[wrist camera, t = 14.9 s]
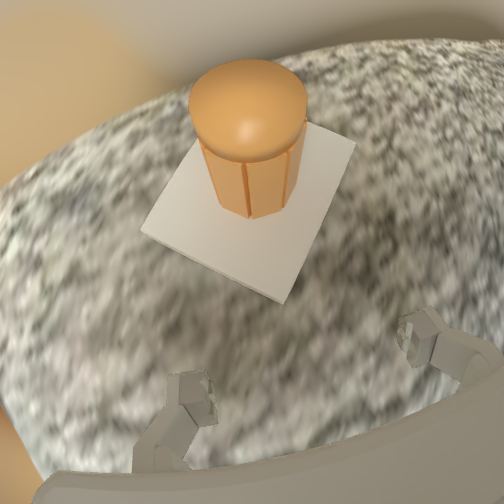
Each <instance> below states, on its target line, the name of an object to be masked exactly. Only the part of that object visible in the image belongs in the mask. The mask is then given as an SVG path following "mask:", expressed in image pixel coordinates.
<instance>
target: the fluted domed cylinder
mask: <svg viewBox="0 0 504 504" xmlns="http://www.w3.org/2000/svg"><path fill="white" fill-rule="evenodd" d="M306 108H307V93H306V90H305V87H304V85H303V83H302V82H301V81H300V79H299V78H298V77H297V76H296V75H295V74H294V73H293V72H291V71H290V70H288V69H287V68H285V67H283V66H281V65H279V64H276V63H273V62H270V61H266V60H259V59H242V60H235V61H231V62H227V63H224V64H222V65H219V66H217V67H215V68H213V69H211V70H210V71H208V72H207V73H206V74H204V75H203V76H202V77H201V78H200V79H199V80H198V81H197V82H196V84H195V85H194V87H193V89H192V91H191V93H190V96H189V112H190V115H191V118H192V121H193V124H194V127H195V131H196V134H197V137H198V140H199V143H200V147H201V150H202V153H203V156H204V159H205V162H206V165H207V168H208V171H209V174H210V177H211V180H212V183H213V186H214V189H215V192H216V195H217V198H218V201H219V204H221V205H222V208H225V209H227V210H229V211H231V212H233V213H236V214H238V215H240V216H242V217H244V218H246V219H249V218H250V216H252V219H256V218H260V217H263V216H266V215H269V214H272V213H275V212H279V211H281V207H282V208H284V207H285V205H286V203H287V201H288V199H289V197H290V196H291V194H292V192H293V190H294V188H295V186H296V182H297V177H298V172H299V166H300V161H301V156H302V150H303V145H304V139H305V134H306V128H307V117H306Z"/></svg>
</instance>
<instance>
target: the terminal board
mask: <svg viewBox="0 0 504 504" xmlns="http://www.w3.org/2000/svg"><path fill="white" fill-rule="evenodd" d="M356 143H357V142H355V141H353V140H350V139H348V138H346V137H344V136H341V135H339V134H337V133H335V132H332V131H330V130H327V129H325V128H323V127H320V126H318V125H315V124H313V123H311V122H308V121H307V128H306V134H305V139H304V145H303V150H302V156H301V161H300V166H299V172H298V177H297V182H296V186H295V188H294V190H293V192H292V194H291V196H290V197H289V199H288V201H287V203H286V205H285V207H284V208H282V207H281V211H279V212H275V213H272V214H269V215H266V216H263V217H260V218H256V219H252V216H250V218H249V219H246V218H244V217H242V216H240V215H238V214H236V213H233V212H231V211H229V210H227V209H225V208H222V205H221V204H219V201H218V198H217V195H216V192H215V189H214V186H213V183H212V180H211V177H210V174H209V171H208V168H207V165H206V162H205V159H204V156H203V153H202V150H201V147H200V143H199V140H198V138H197V139H196V141H195V142H194V144H193V145H192V147H191V148H190V150H189V151H188V153H187V154H186V156H185V157H184V159H183V160H182V162H181V163H180V165H179V166H178V168H177V170H176V171H175V173H174V174H173V176H172V177H171V179H170V181H169V182H168V184H167V185H166V187H165V189H164V190H163V192H162V193H161V195H160V197H159V198H158V200H157V202H156V203H155V205H154V207H153V208H152V210H151V212H150V213H149V215H148V217H147V218H146V220H145V222H144V224H143V225H142V227H141V229H140V230H141V231H142V232H143V233H144V234H145V235H146V236H147V237H149V238H151V239H153V240H155V241H157V242H159V243H160V244H162V245H164V246H166V247H168V248H170V249H172V250H174V251H176V252H178V253H180V254H182V255H184V256H186V257H187V258H189V259H191V260H193V261H195V262H197V263H199V264H201V265H203V266H205V267H207V268H209V269H211V270H213V271H215V272H217V273H219V274H221V275H223V276H225V277H227V278H229V279H231V280H233V281H235V282H237V283H239V284H241V285H243V286H245V287H247V288H249V289H251V290H253V291H255V292H257V293H259V294H261V295H263V296H265V297H267V298H270V299H272V300H274V301H276V302H278V303H280V304H282V305H284V303H285V301H286V299H287V297H288V295H289V293H290V291H291V289H292V287H293V284H294V282H295V280H296V278H297V276H298V274H299V272H300V270H301V268H302V266H303V263H304V261H305V259H306V257H307V255H308V253H309V251H310V248H311V246H312V244H313V242H314V240H315V237H316V235H317V233H318V231H319V229H320V226H321V224H322V222H323V220H324V218H325V215H326V213H327V211H328V209H329V206H330V204H331V202H332V199H333V197H334V195H335V193H336V190H337V188H338V186H339V183H340V181H341V179H342V176H343V174H344V172H345V169H346V167H347V165H348V162H349V160H350V157H351V155H352V153H353V150H354V148H355V145H356Z"/></svg>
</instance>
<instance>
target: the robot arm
mask: <svg viewBox="0 0 504 504" xmlns="http://www.w3.org/2000/svg"><path fill="white" fill-rule="evenodd" d="M398 323H399V325H400V328H399V329H398V330H397V341H398V344H399V347H400V348H401V350H402V351H404V352H406V353H407V360H408V361H409V363H410V365H411V366H412V368H413V369H414V368H417V367H420V366H422V365H425V364H427V363H430V364H431V365H433V366H435V367H436V368H438V369H440V370H441V371H443V372H445V373H446V374H448V375H450V376H451V377H453V378H455V379H456V380H458V381H460V384H459V386H458V388H457V390H456V393H455V394H453V395H451V396H449V397H447V398H445V399H443V400H441V401H439V402H437V403H435V404H433V405H431V406H428V407H426V408H424V409H422V410H420V411H417V412H415V413H413V414H410V415H408V416H406V417H403V418H401V419H399V420H396V421H394V422H391V423H388V424H386V425H383V426H381V427H378V428H375V429H373V430H370V431H367V432H364V433H361V434H358V435H355V436H352V437H349V438H346V439H343V440H340V441H337V442H333V443H330V444H327V445H323V446H320V447H316V448H312V449H309V450H305V451H301V452H297V453H293V454H289V455H284V456H280V457H275V458H270V459H265V460H260V461H255V462H250V463H244V464H238V465H231V466H224V467H217V468H209V469H200V470H192V469H191V468H190V467H189V466H188V465H187V464H186V463H185V462H184V461H183V460H182V459H183V457H184V456H185V454H186V452H187V450H188V448H189V446H190V444H191V442H192V441H193V439H194V437H195V435H196V433H197V431H198V429H199V428H198V427H204V426H210V425H215V424H218V412H217V409H216V407H215V403H216V402H217V401H216V393H215V389H214V386H213V383H212V381H211V380H209V379H208V373H207V371H206V369H201V370H194V371H188V372H181V373H175V374H169V376H168V380H167V399H166V407H163V408H162V409H161V411H160V412H159V413H158V415H157V416H156V418H155V419H154V420H153V422H152V423H151V424H150V426H149V427H148V428H147V430H146V431H145V432H144V434H143V435H142V436H141V438H140V439H139V440H138V442H137V443H136V445H135V446H134V447H133V460H132V473H94V472H79V471H68V470H58V471H56V472H55V473H53V474H52V475H51V476H50V477H49V478H48V479H47V480H46V481H45V482H44V483H43V484H42V485H41V486H40V487H39V488H38V489H37V491H36V492H35V494H34V497H33V500H32V503H31V504H504V356H503V354H502V353H501V352H500V351H499V349H498V348H497V347H496V346H495V344H492V343H490V342H487V341H485V340H483V339H480V338H478V337H475V336H473V335H470V334H468V333H465V332H463V331H460V330H458V329H455V328H451V329H450V327H449V326H448V325H447V324H446V322H445V321H444V320H443V319H442V318H441V316H440V315H439V314H438V313H437V312H436V310H435V309H434V308H433V307H432V306H427V307H424V308H422V309H419V310H416V311H413V312H411V313H408V314H405V315H403V316H401V317H400V318H399V322H398Z"/></svg>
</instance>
